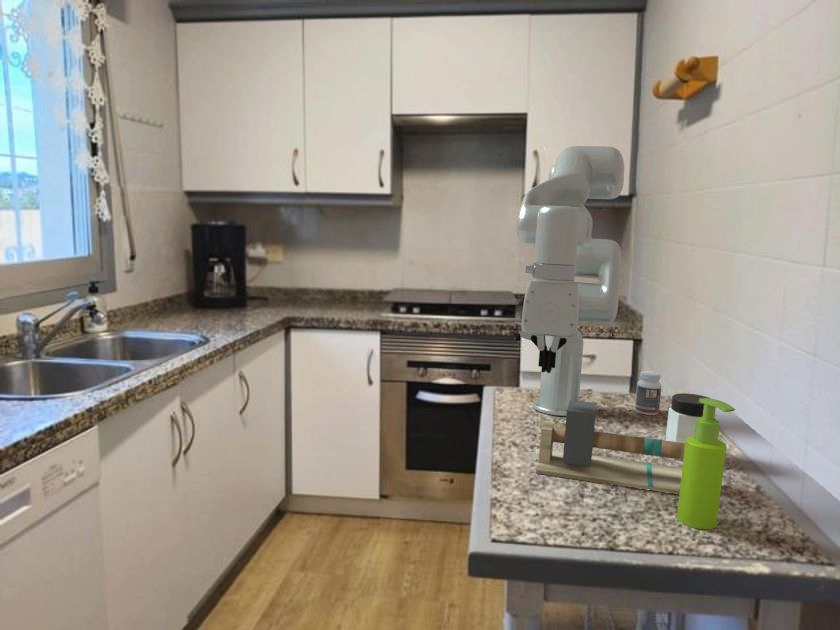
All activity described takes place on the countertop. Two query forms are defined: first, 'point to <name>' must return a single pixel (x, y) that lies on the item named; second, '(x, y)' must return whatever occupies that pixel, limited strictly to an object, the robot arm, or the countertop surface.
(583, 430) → the collar
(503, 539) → the countertop surface
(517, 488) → the countertop surface
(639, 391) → the pill bottle
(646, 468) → the pipe rig
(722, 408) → the soap dispenser
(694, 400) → the jar
